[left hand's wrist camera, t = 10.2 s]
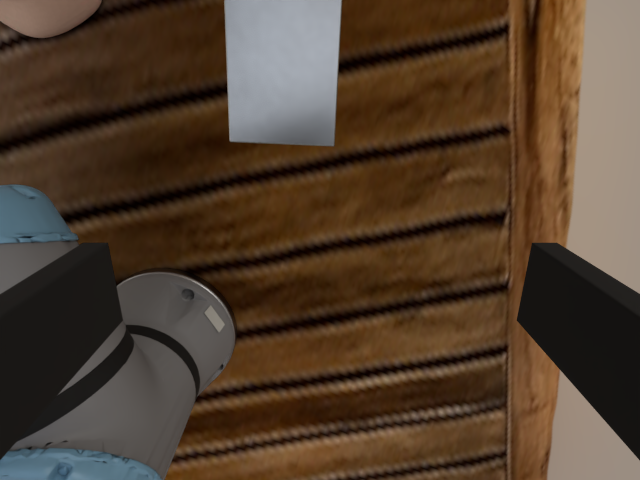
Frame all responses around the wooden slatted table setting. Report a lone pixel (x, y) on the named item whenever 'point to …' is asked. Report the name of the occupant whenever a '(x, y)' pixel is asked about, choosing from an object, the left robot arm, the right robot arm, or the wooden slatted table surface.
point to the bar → (282, 70)
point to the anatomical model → (46, 15)
